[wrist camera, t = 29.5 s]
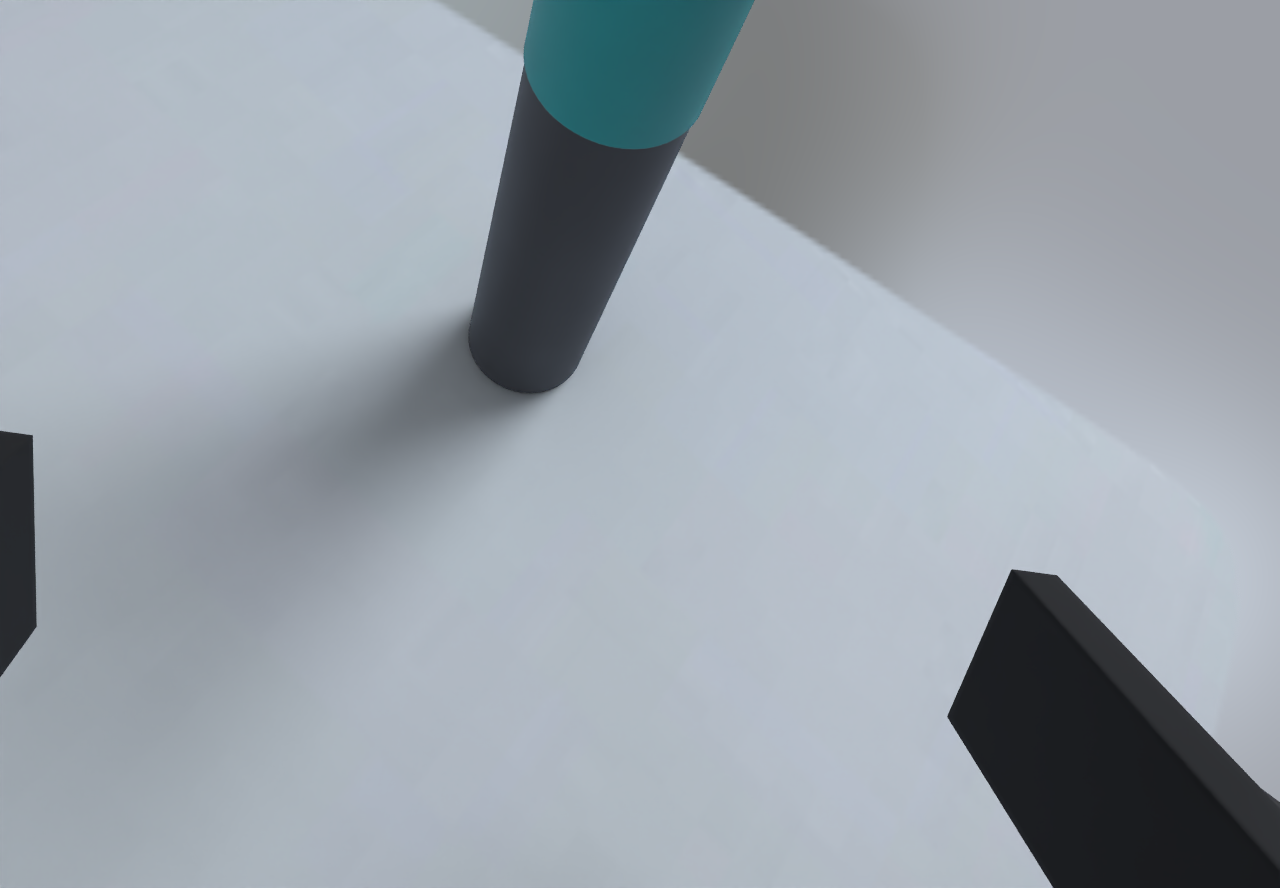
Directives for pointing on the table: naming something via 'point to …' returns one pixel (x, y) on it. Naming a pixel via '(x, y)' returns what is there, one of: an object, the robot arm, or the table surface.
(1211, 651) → the table surface
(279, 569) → the table surface
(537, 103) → the marker
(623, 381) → the table surface
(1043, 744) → the robot arm
